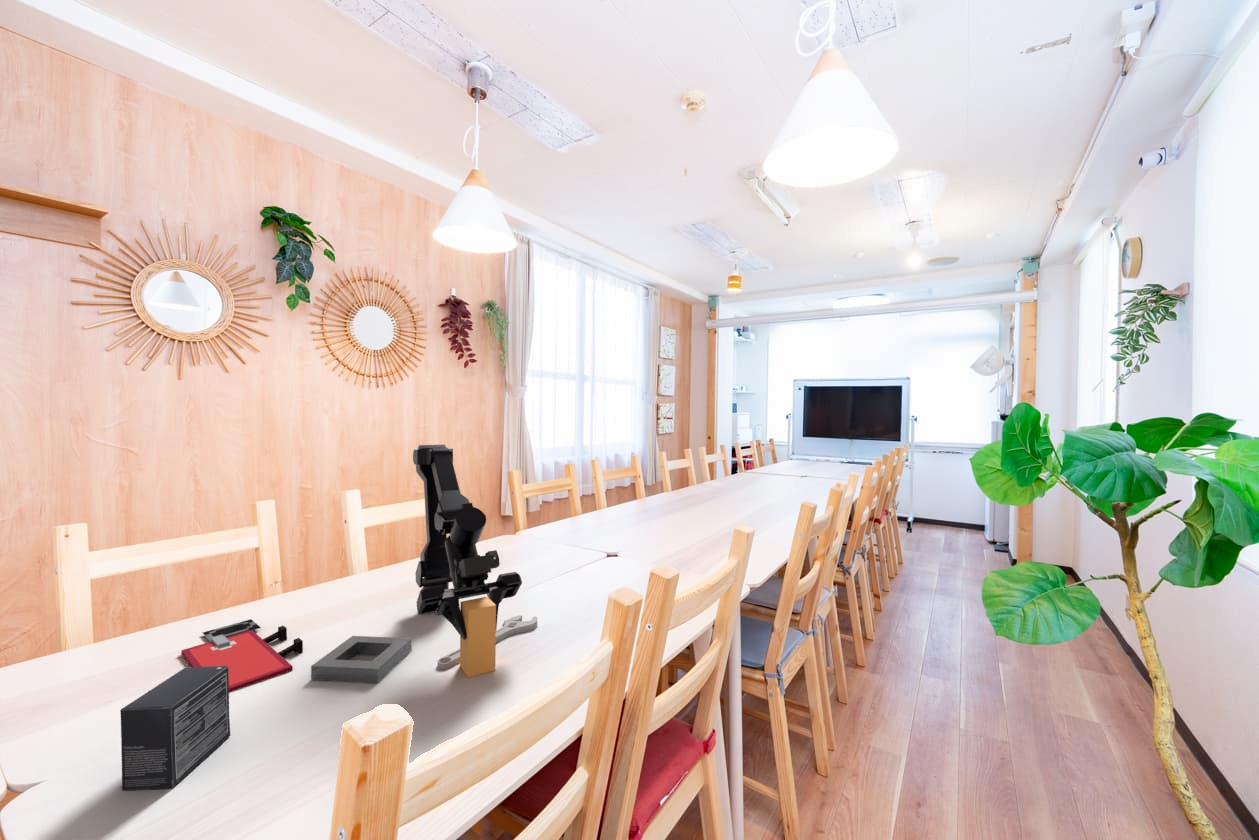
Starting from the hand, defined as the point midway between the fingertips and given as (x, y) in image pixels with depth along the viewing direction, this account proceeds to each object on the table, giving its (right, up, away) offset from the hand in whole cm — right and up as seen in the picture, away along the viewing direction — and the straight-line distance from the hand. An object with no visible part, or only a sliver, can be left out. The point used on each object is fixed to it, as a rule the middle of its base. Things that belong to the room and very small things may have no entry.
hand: (480, 635), depth 93 cm
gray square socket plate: (-22, -6, +2) cm, 23 cm away
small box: (-33, -7, -25) cm, 42 cm away
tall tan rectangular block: (-1, -7, +1) cm, 7 cm away
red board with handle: (-48, -7, +6) cm, 49 cm away
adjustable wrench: (-2, -7, +12) cm, 14 cm away
